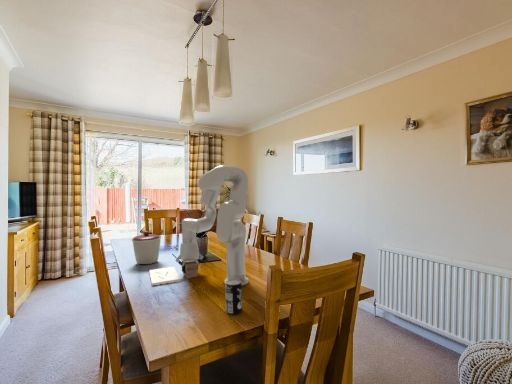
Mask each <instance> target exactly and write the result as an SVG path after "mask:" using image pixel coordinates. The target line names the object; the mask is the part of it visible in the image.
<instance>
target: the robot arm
mask: <svg viewBox="0 0 512 384" xmlns="http://www.w3.org/2000/svg"><path fill="white" fill-rule="evenodd" d="M223 183H224V184H225V183H232V186H231V187H230V192H229V200H228V201H224V202H223V203H221V204H220V206H219V207H218V209H217V208H216V204H217V201H218V198H219V196H220V192H221V190H222V187H223ZM197 185H198V188H199V190H201V191H202V194H201V196H200V199H199V200H200V201H199V202H200V203H201V204H202V206H205V212H204V216H203V217H201V218H194V217H193V218H192V217H189V218H188V217H187V218H186V217H185V218H183V219H182V220H181V237H182V238H181V239H182V242H180V246H179V247H180V248H179V255H178V256H177V258H176V259H175V262H177V263H178V265H180V266H181V272H182V274H183V273H185V266H184V264H185V262H186V261H192V260H194V261H195V262H196V263H197V264H198V265H199V264H200V262H201V261H202V260H203V259H204V256H203V255H202V254H201V253H200V251H199V245H198V241H199V238H200V237H197V234H199V233H203V232H206V231H209V230H210V229H212V227H213V226H214V223H215V221H216V230H215V233H216V234H215V235H216V239H217V240H218V241H219V242H220V243H221V244H226V248H225V249H226V250H225V251H226V254H225V255H226V278H225V279H224V280H223V283H224V284H225V285H226V282H227V281H228V280H232V279H237V280H240V281H241V284H242V287H243V286H245V285H247V284H248V283H249V281H250V280H249V278H248V277H247V276H246V236H247V229H246V226H245V224H244V222H243V221H240V220H239V219H242V218H243V217H244V216H245V214H246V207H247V200H248V199H247V197H248V196H247V195H248V193H247V192H248V188H249V187H248V186H249V177H248V174H247V172H246V171H245V170H244V169H243V168H242V167H239V166H235V165H228V164H227V165H226V164H225V165H224V164H221V165H218V166H216V167H214V168H213V169H210V170H208V171H207V172H205V173H204V174H202V175H200V177H199V179H198V182H197ZM196 233H197V234H196Z"/></svg>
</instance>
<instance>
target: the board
mask: <svg viewBox="0 0 512 384" xmlns="http://www.w3.org/2000/svg"><path fill="white" fill-rule="evenodd" d="M148 272H149V273H150V274H149V277H150V278H151V279H150V278H149V279H150V283H152V284H151V287H154V286H153V285H157V286H161V285H160V284H163V285H167V284H166V283H169V284H174V282H175V283H179V282H180V283H181V277H180V276H179V273H178V272H177V270H176V268H175V266H169V267H163V268H156V269H149V270H148Z"/></svg>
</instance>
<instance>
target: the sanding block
mask: <svg viewBox="0 0 512 384" xmlns="http://www.w3.org/2000/svg"><path fill="white" fill-rule="evenodd" d="M184 266H185V273H183V272H182V274H184V276H185V278H186V279H190V278H195V277H199V272H198V270H199V264H197V263H196V262H195V260H192V261H186V262H185V264H184Z"/></svg>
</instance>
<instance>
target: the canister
mask: <svg viewBox="0 0 512 384" xmlns="http://www.w3.org/2000/svg"><path fill="white" fill-rule="evenodd" d="M161 238H162V236H160V235H158V234H154V233H151V234H150V232H149V231H148V230H144V231H143V234H140V235H137V236H134V237H132V239H131V242H132V247H133V252H134V257H135V262H136V263H137V264H138V265H140V264H148V265H151V264H152V263H153V264H155V263H157V262H158V260H159V255H160V242H161Z"/></svg>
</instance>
